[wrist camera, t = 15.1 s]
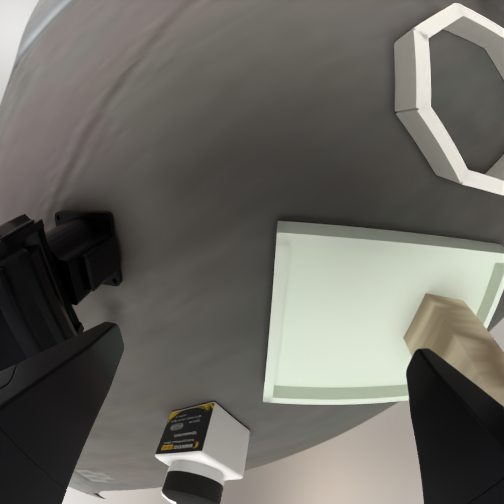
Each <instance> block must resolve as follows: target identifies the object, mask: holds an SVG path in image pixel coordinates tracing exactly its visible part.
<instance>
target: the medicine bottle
mask: <svg viewBox="0 0 504 504" xmlns="http://www.w3.org/2000/svg"><path fill="white" fill-rule="evenodd" d="M249 435H250V431H249V430H248V429H247V428H246V427H244V426H243V425H242V424H241V423H239V422H238V421H237V420H236V419H234V418H233V417H232V416H231V415H230V414H228V413H227V412H226V411H225V410H224V409H223V408H221V407H220V406H219V405H218V404H217V403H216V402H210V403H207V404H203V405H199V406H195V407H191V408H187V409H183V410H178V411H174V412H172V413H171V415H170V417H169V420H168V422H167V425H166V428H165V430H164V433H163V435H162V438H161V441H160V443H159V446H158V449H157V451H156V454H155V457H156V458H157V459H159V460H160V461H162V462H163V463H165V464H167V465H168V466H170V467H169V468H168V471H167V474H166V477H165V480H164V483H163V486H162V489H161V493H162V496H163V497H164V498H166V499H167V500H168V501H169V502H171V503H173V504H220V501H221V496H222V491H223V486H224V480H235V479H242V478H243V475H244V468H245V462H246V455H247V449H248V442H249Z"/></svg>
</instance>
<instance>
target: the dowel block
mask: <svg viewBox="0 0 504 504" xmlns="http://www.w3.org/2000/svg"><path fill="white" fill-rule="evenodd" d="M403 339H404V341H405V343H406V345H407V347H408V349H409V352H410V354H411V356H413V354H414V352H415V351H416V350H417V349H419V348H429V349H431V350H432V351H433V352H435V353H436V354H437V355H438V356H440V357H441V358H442V359H444V360H445V361H446V362H448V363H449V364H450V365H452V366H453V367H454V368H455V369H457V370H458V371H459V372H461V373H462V374H463V375H465V376H466V377H467V378H468V379H470V380H471V381H472V382H473V383H475V384H476V385H477V386H479V387H480V388H481V389H482V390H484V391H485V392H486V393H487V394H489V395H490V396H491V397H492V398H494V399H495V400H496V401H497V402H499V403H500V404H501V405H502V406H504V352H503V351H502V349H501V348H500V347H499V345H498V344H497V342H496V341H495V340H494V338H493V337H492V336H491V334H490V333H489V332H488V330H487V329H486V328H485V327H484V325H483V324H482V323H481V321H480V320H479V319H478V318H477V316H476V315H475V314H474V313H473V312H472V310H471V309H470V308H469V307H468V306H467V304H466V303H465V302H464V301H463V300H459V299H453V298H448V297H443V296H437V295H432V294H427V293H425V296H424V298H423V300H422V302H421V304H420V306H419V308H418V310H417V312H416V314H415V316H414V318H413V320H412V322H411V324H410V326H409V328H408V330H407V332H406V334H405V336H404V337H403Z"/></svg>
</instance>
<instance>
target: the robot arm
mask: <svg viewBox="0 0 504 504" xmlns="http://www.w3.org/2000/svg"><path fill="white" fill-rule="evenodd" d="M59 216H60V217H59ZM105 216H106V217H107V220H106V218H105ZM55 221H56V227H55V228H53V229H52V230H50V231H48V232H46V233H45V232H44V228H43V227H44V224H43V220H42V219H40V220H37V221H34V220H30V219H29V218H28V217H27V216H26V215H25V214H23V215H21V216H19V217H16V218H14V219H12V220H10V221H8V222H6V223H4V224H2V225H0V504H62V501H63V499H64V496H65V493H66V489H67V487H68V484H69V482H70V479H71V477H72V474H73V471H74V469H75V466H76V464H77V461H78V459H79V457H80V454H81V452H82V449H83V447H84V445H85V442H86V440H87V438H88V435H89V433H90V431H91V428H92V426H93V424H94V422H95V420H96V417H97V415H98V413H99V411H100V409H101V406H102V404H103V402H104V400H105V398H106V396H107V394H108V391H109V389H110V386H111V384H112V381H113V378H114V375H115V372H116V370H117V367H118V364H119V361H120V359H121V356H122V353H123V350H124V343H123V340H122V336H121V333H120V329H119V326H118V325H117V324H115V323H111V322H104V323H102V324H100V325H97V326H95V327H93V328H91V329H89V330H87V331H85V332H83V330H84V327H83V325H82V323H81V322H79V320H78V318H77V315H76V313H75V311H74V309H73V307H72V304H73V305H77V304H79V303H80V302H81V301H82V300H83V299H84V298H85V297H86V296H87V295H88V294H89V293H90V292H91V291H95V290H96V289H97V288H98V287H99V286H100V285H101V284H106V285H112V286H118V285H119V284H120V283H121V282H122V278H121V272H120V263H119V257H118V251H117V244H116V239H115V233H114V225H113V217H112V214H111V213H110V212H108V211H59V212H57V213H56V214H55ZM115 279H116V280H117V281H116V280H115ZM406 379H407V386H408V394H409V403H410V412H411V419H412V424H413V429H414V435H415V440H416V446H417V451H418V458H419V464H420V472H421V479H422V487H423V497H424V504H504V406H502V405H501V404H500V403H499V402H497V401H496V400H495V399H494V398H492V397H491V396H490V395H489V394H487V393H486V392H485V391H484V390H482V389H481V388H480V387H479V386H477V385H476V384H475V383H473V382H472V381H471V380H470V379H468V378H467V377H466V376H465V375H463V374H462V373H461V372H459V371H458V370H457V369H455V368H454V367H453V366H452V365H450V364H449V363H448V362H446V361H445V360H444V359H442V358H441V357H440V356H438V355H437V354H436V353H435V352H433V351H432V350H431V349H429V348H419V349H417V350H416V351H415V352H414V354H413V356H412V358H411V360H410V363H409V365H408V367H407V370H406Z"/></svg>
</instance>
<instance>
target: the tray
mask: <svg viewBox="0 0 504 504" xmlns="http://www.w3.org/2000/svg"><path fill="white" fill-rule="evenodd" d="M503 289H504V247H503V246H501V245H500V244H496V243H489V242H482V241H475V240H468V239H460V238H453V237H445V236H436V235H428V234H419V233H410V232H401V231H392V230H382V229H372V228H362V227H351V226H340V225H328V224H316V223H303V222H289V221H278V225H277V238H276V253H275V267H274V281H273V294H272V307H271V319H270V331H269V342H268V354H267V365H266V375H265V386H264V396H263V402H271V403H287V404H315V405H341V404H368V403H383V402H395V401H405V400H409V394H408V386H407V379H406V370H407V367H408V365H409V363H410V360H411V358H412V356H411V354H410V352H409V349H408V347H407V345H406V343H405V341H404V339H403V337H404V336H405V334H406V332H407V330H408V328H409V326H410V324H411V322H412V320H413V318H414V316H415V314H416V312H417V310H418V308H419V306H420V304H421V302H422V300H423V298H424V296H425V293H427V294H432V295H437V296H443V297H448V298H453V299H459V300H463V301H464V302H465V303H466V304H467V306H468V307H469V308H470V309H471V310H472V312H473V313H474V314H475V315H476V316H477V318H478V319H479V320H480V321H481V323H482V324H483V325H484V327H485V328H486V329H487V327H488V325H489V323H490V321H491V318H492V316H493V314H494V312H495V309H496V307H497V305H498V302H499V300H500V297H501V295H502V292H503Z"/></svg>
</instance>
